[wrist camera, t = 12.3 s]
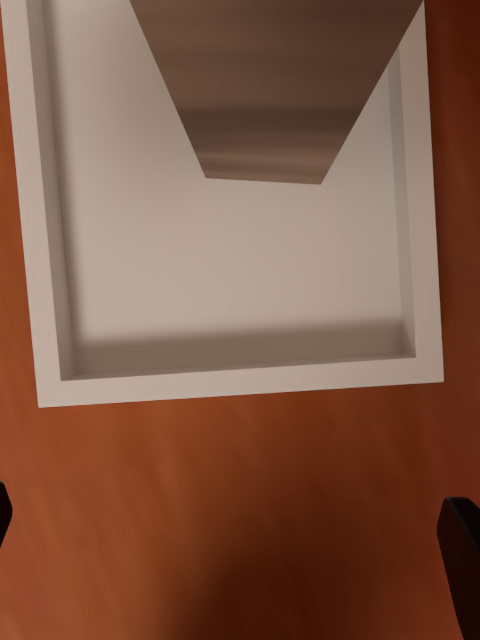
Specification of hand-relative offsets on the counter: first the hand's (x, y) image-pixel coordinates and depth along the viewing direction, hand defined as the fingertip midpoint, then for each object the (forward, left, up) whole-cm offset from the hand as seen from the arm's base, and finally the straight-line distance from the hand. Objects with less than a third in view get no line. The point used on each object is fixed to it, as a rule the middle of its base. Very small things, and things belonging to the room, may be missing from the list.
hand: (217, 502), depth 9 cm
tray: (+9, 0, -11) cm, 14 cm away
